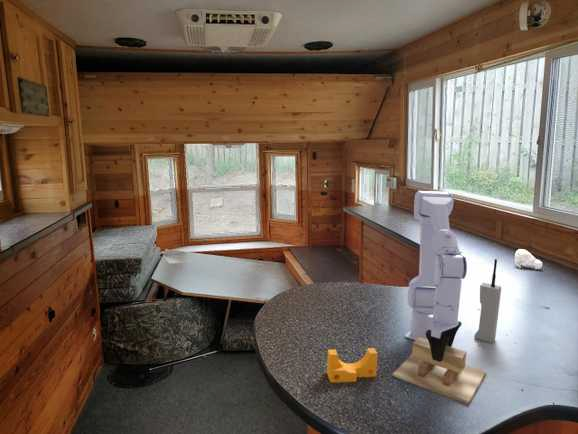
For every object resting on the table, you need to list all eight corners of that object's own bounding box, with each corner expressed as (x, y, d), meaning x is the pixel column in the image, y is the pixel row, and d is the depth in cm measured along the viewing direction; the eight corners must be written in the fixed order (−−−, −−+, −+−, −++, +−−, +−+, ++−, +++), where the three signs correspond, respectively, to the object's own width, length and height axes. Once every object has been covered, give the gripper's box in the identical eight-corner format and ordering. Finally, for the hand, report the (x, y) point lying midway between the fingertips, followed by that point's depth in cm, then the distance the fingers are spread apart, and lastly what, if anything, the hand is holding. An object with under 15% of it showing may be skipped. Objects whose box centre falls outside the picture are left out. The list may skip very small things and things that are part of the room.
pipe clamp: (330, 383, 101) (331, 358, 100) (326, 373, 105) (327, 349, 104) (378, 381, 102) (379, 356, 101) (372, 371, 106) (374, 348, 105)
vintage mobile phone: (477, 334, 128) (486, 255, 124) (495, 339, 125) (504, 259, 121) (474, 338, 125) (482, 258, 121) (491, 343, 122) (501, 261, 118)
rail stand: (416, 351, 117) (417, 340, 116) (485, 374, 106) (487, 362, 105) (392, 376, 104) (393, 363, 103) (468, 404, 93) (469, 391, 93)
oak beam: (417, 351, 110) (418, 337, 109) (465, 366, 103) (466, 351, 102) (411, 357, 107) (413, 343, 106) (460, 373, 100) (462, 358, 99)
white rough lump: (517, 246, 203) (545, 253, 197) (513, 263, 205) (541, 270, 199) (515, 249, 198) (544, 256, 192) (511, 266, 200) (539, 273, 194)
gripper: (439, 290, 110) (434, 338, 112) (420, 307, 98) (415, 360, 100) (467, 296, 105) (462, 346, 108) (451, 315, 94) (445, 370, 96)
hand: (441, 354), depth 104 cm, fingers open, 7 cm apart
